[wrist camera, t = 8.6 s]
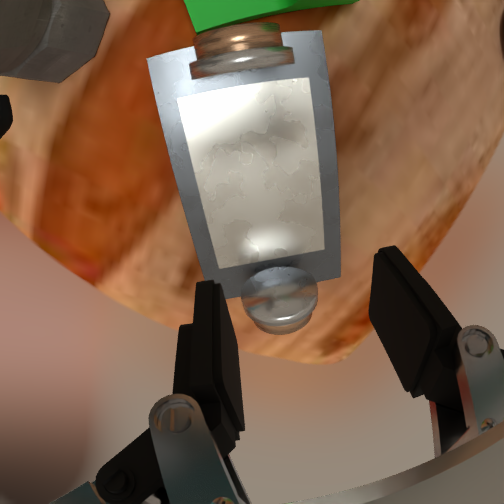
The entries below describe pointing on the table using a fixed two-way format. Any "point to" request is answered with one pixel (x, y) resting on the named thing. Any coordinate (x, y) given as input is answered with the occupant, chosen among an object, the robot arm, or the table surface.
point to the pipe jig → (255, 164)
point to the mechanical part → (245, 10)
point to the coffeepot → (46, 41)
